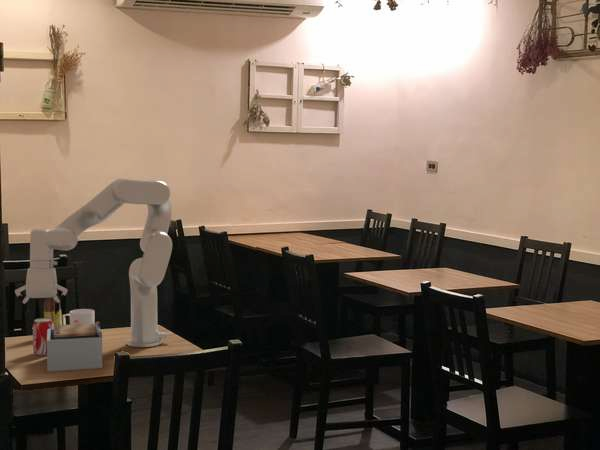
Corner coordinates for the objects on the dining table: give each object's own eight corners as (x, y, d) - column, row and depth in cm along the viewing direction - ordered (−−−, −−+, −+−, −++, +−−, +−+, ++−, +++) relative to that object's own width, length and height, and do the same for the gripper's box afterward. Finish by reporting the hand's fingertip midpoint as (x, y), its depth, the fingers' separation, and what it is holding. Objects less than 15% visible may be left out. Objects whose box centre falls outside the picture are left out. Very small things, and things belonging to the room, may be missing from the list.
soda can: (48, 356, 271) (47, 322, 270) (29, 355, 273) (28, 321, 272) (58, 352, 278) (57, 318, 277) (39, 351, 280) (39, 317, 279)
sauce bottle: (63, 335, 305) (62, 283, 303) (61, 338, 299) (60, 286, 297) (45, 335, 304) (44, 284, 302) (43, 339, 298) (42, 286, 296)
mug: (98, 338, 299) (98, 309, 299) (88, 344, 291) (88, 314, 290) (69, 337, 302) (68, 308, 301) (57, 342, 293) (57, 312, 292)
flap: (94, 325, 272) (94, 322, 272) (96, 335, 257) (96, 331, 257) (54, 327, 268) (54, 324, 268) (54, 337, 254) (54, 333, 254)
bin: (99, 354, 275) (99, 321, 274) (102, 367, 257) (102, 332, 257) (48, 358, 270) (47, 324, 269) (47, 371, 253) (46, 335, 252)
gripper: (67, 263, 279) (67, 311, 280) (15, 263, 274) (15, 312, 275) (68, 265, 272) (67, 315, 273) (14, 266, 267) (14, 316, 268)
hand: (41, 314), depth 274 cm, fingers open, 9 cm apart
